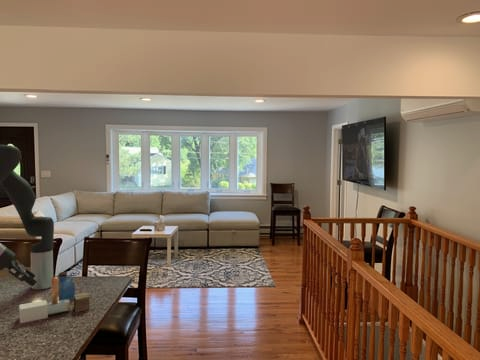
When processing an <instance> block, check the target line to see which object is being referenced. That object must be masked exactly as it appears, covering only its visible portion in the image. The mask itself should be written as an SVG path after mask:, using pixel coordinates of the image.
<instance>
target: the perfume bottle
mask: <svg viewBox="0 0 480 360" xmlns="http://www.w3.org/2000/svg"><path fill="white" fill-rule="evenodd" d="M58 275H59V276H58V285H59V301H60V300H65V299H69V301H70V302H71V301H74V295H76V294H75V292H76V291H75V290H76V289H75V287H76V286H75V284H74V282H73V281H72V280H71V279H68V272H67V271H62V272H59V273H58Z"/></svg>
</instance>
